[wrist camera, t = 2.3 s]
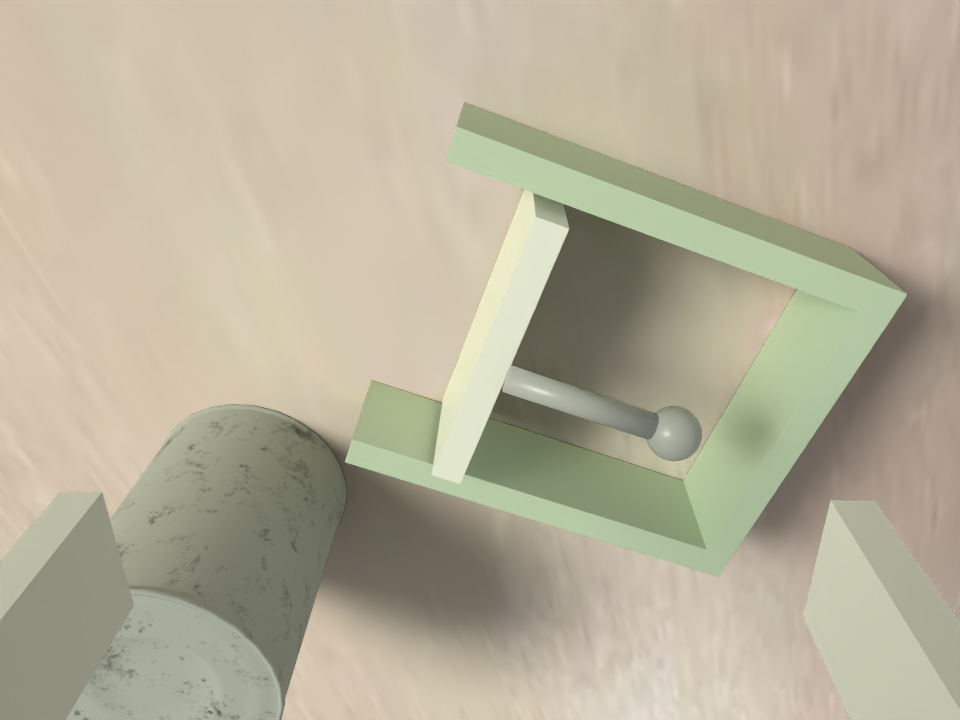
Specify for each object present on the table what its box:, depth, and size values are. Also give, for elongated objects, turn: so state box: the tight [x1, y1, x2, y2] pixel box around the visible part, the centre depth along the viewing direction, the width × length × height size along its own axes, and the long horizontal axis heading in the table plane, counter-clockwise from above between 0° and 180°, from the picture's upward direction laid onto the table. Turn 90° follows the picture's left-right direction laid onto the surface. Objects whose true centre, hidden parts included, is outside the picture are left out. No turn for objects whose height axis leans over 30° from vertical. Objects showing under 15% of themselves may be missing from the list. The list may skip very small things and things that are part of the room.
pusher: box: [432, 190, 702, 484], centre depth 30 cm, size 9×11×8 cm
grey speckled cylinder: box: [66, 404, 346, 720], centre depth 33 cm, size 10×10×12 cm
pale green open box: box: [345, 103, 908, 577], centre depth 32 cm, size 17×14×5 cm
